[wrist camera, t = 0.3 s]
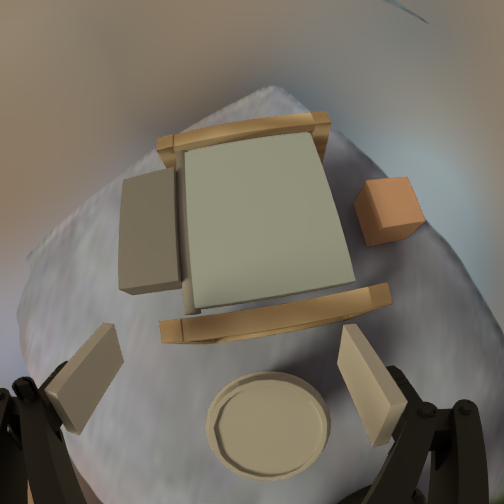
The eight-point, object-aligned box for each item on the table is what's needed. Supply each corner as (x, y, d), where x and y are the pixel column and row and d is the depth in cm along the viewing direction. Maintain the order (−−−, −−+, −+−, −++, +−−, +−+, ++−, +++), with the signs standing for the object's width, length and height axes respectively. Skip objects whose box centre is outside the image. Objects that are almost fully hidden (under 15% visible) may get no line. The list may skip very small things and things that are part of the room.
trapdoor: (350, 288, 21) (359, 282, 18) (134, 322, 21) (120, 319, 19) (307, 141, 25) (309, 125, 23) (134, 174, 26) (125, 160, 23)
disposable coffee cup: (242, 350, 30) (224, 355, 19) (322, 374, 28) (352, 390, 17) (216, 423, 27) (187, 462, 16) (295, 446, 26) (306, 495, 14)
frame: (347, 319, 30) (392, 303, 18) (204, 344, 30) (161, 343, 18) (312, 181, 36) (326, 111, 24) (190, 201, 36) (157, 138, 24)
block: (405, 239, 33) (425, 220, 27) (366, 246, 33) (383, 227, 27) (391, 199, 35) (407, 176, 29) (353, 204, 35) (366, 180, 29)
